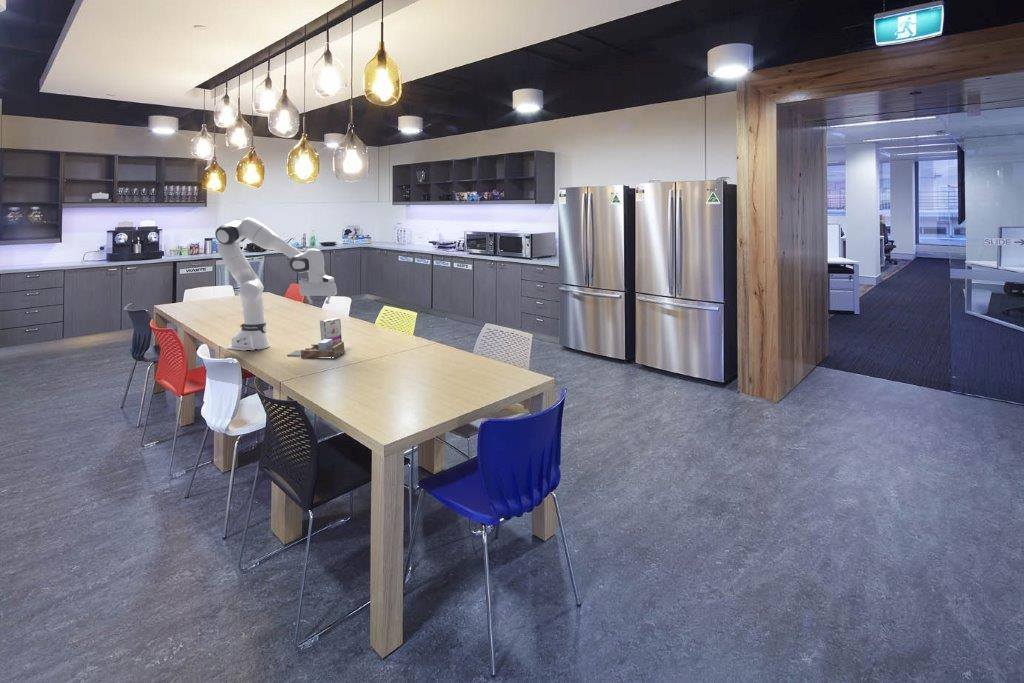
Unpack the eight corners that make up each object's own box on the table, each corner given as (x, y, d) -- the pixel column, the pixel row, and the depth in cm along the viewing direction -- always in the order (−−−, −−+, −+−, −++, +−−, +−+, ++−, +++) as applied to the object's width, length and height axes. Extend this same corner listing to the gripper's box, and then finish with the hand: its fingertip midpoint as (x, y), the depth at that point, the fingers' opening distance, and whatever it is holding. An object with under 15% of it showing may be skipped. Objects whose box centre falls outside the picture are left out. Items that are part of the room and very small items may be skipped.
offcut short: (305, 351, 318) (305, 348, 318) (309, 349, 324) (308, 345, 324) (310, 352, 318) (310, 348, 318) (314, 349, 324) (314, 346, 324)
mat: (287, 356, 317) (287, 355, 317) (296, 351, 328) (296, 350, 327) (299, 356, 316) (299, 355, 316) (308, 351, 327) (308, 350, 327)
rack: (301, 357, 314) (300, 346, 313) (312, 351, 329) (311, 340, 328) (334, 358, 313) (334, 347, 312) (344, 352, 328) (343, 341, 326)
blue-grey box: (319, 357, 316) (318, 342, 315) (326, 352, 326) (325, 338, 324) (326, 357, 316) (325, 342, 314) (333, 353, 326) (332, 339, 324)
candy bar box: (337, 345, 345) (335, 317, 342) (342, 346, 342) (341, 318, 339) (320, 348, 336) (319, 320, 333) (326, 349, 333) (324, 321, 330)
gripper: (296, 279, 317) (298, 304, 321) (333, 279, 316) (335, 304, 319) (301, 278, 324) (303, 302, 327) (337, 277, 322) (339, 302, 325)
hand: (319, 303), depth 323 cm, fingers open, 8 cm apart
